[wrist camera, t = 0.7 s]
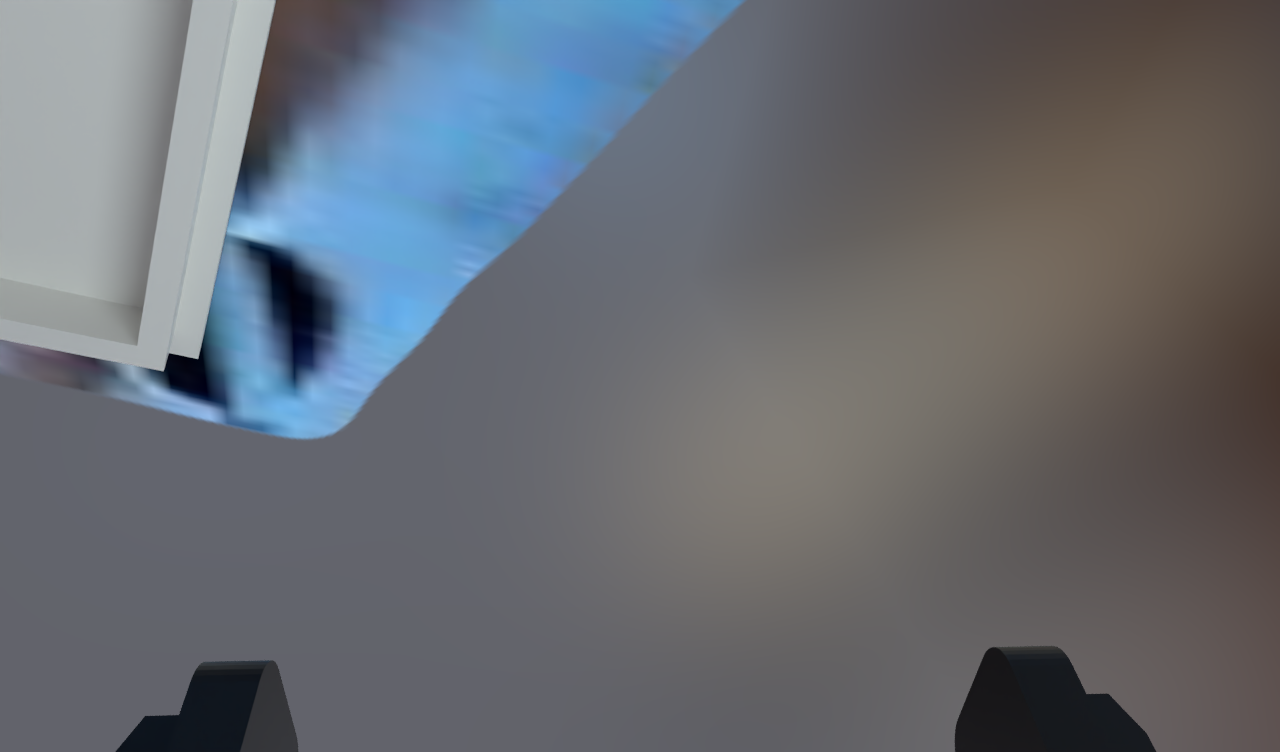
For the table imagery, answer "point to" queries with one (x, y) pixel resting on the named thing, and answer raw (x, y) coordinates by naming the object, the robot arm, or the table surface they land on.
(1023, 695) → the robot arm
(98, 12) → the shallow square tray
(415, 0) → the table surface
